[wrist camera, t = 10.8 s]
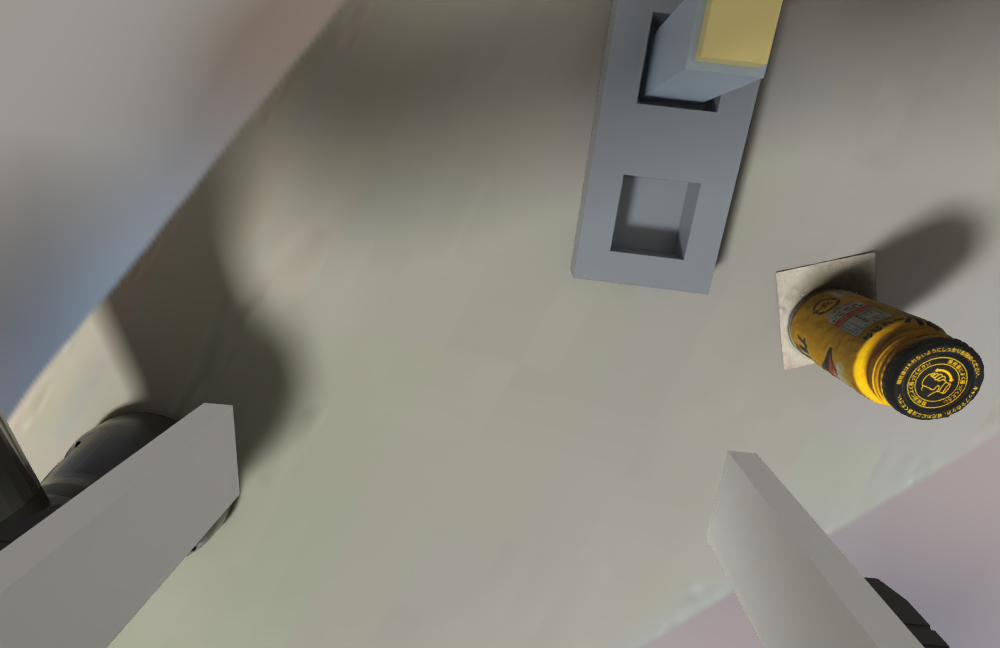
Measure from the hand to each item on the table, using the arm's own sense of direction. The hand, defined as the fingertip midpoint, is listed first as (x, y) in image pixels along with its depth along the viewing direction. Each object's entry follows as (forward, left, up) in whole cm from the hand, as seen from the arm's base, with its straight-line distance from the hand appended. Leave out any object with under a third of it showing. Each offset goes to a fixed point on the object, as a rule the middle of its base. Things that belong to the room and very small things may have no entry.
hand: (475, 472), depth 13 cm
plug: (+9, +16, -28) cm, 34 cm away
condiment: (+26, 0, -29) cm, 39 cm away
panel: (+10, +11, -29) cm, 32 cm away
